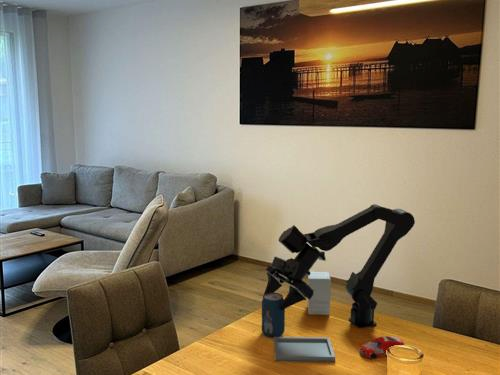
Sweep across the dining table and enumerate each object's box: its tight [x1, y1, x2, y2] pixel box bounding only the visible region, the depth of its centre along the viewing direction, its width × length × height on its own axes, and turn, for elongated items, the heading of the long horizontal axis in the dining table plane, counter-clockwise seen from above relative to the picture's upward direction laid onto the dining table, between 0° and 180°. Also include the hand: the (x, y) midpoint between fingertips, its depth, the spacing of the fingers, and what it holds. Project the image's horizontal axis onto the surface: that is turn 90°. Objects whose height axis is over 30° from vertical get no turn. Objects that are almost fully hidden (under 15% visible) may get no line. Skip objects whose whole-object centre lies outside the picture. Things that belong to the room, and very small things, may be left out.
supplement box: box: [306, 270, 332, 316], centre depth 155 cm, size 7×7×13 cm
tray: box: [273, 336, 336, 363], centre depth 128 cm, size 16×11×2 cm
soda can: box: [261, 292, 286, 339], centre depth 138 cm, size 7×7×12 cm
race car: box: [359, 335, 405, 360], centre depth 128 cm, size 13×5×4 cm, turn 107°
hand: (271, 303), depth 137 cm, fingers open, 9 cm apart
